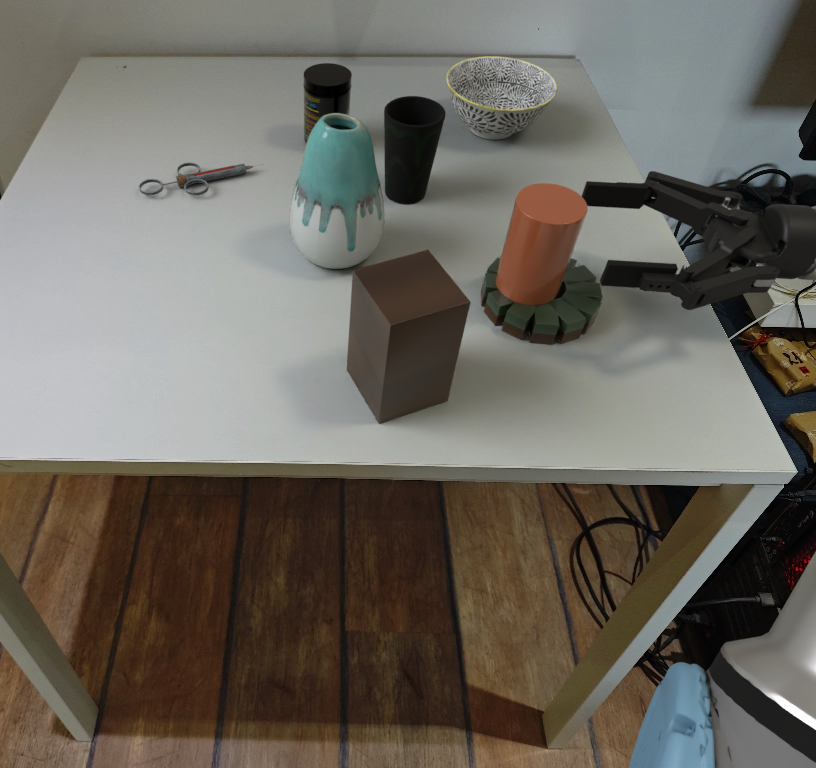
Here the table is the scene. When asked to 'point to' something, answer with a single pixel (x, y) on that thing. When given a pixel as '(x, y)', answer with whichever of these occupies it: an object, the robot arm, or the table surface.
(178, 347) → the table surface
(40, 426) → the table surface
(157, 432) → the table surface
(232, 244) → the table surface
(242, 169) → the syringe
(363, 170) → the vase
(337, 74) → the supplement container
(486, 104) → the bowl
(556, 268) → the orange glossy cylinder
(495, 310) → the segmented green ring
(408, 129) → the cup
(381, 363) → the dark brown rectangular block
